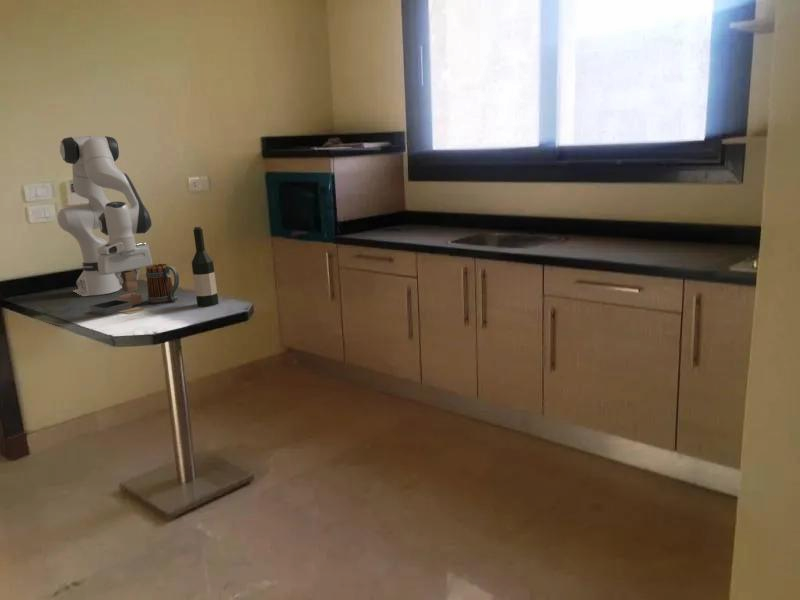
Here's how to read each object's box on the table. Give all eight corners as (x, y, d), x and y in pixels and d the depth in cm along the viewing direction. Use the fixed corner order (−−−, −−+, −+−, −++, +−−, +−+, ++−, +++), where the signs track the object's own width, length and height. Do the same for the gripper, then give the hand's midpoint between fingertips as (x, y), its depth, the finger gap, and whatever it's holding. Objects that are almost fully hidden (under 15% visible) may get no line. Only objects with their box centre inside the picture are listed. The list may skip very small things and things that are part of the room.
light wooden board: (118, 313, 255) (118, 311, 255) (137, 308, 261) (137, 306, 261) (129, 315, 250) (129, 314, 250) (148, 310, 256) (148, 309, 256)
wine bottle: (221, 301, 264) (211, 225, 257) (215, 306, 255) (204, 227, 249) (200, 302, 264) (190, 226, 257) (193, 307, 256) (182, 229, 249)
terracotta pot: (120, 305, 268) (118, 296, 267) (134, 302, 272) (132, 293, 271) (128, 307, 264) (127, 297, 263) (142, 303, 269) (140, 294, 268)
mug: (142, 304, 267) (136, 267, 264) (163, 298, 276) (157, 262, 273) (171, 306, 260) (165, 268, 257) (191, 300, 269) (185, 263, 266)
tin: (91, 313, 258) (89, 305, 257) (117, 306, 266) (116, 299, 266) (105, 316, 251) (104, 308, 251) (132, 309, 260) (131, 302, 259)
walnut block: (122, 290, 253) (119, 272, 252) (132, 288, 256) (129, 270, 255) (128, 291, 251) (125, 273, 249) (138, 289, 254) (135, 271, 252)
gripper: (143, 241, 260) (149, 276, 263) (92, 250, 244) (99, 287, 247) (152, 241, 256) (158, 277, 259) (101, 250, 240) (108, 288, 243)
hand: (129, 282), depth 253 cm, fingers closed on walnut block, 4 cm apart
